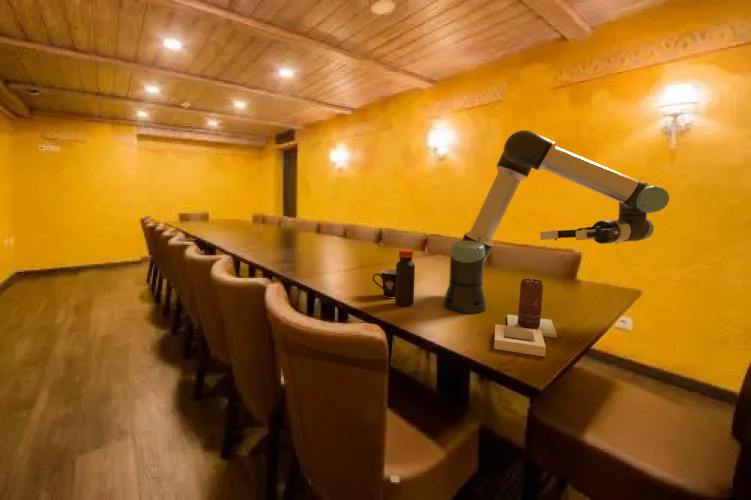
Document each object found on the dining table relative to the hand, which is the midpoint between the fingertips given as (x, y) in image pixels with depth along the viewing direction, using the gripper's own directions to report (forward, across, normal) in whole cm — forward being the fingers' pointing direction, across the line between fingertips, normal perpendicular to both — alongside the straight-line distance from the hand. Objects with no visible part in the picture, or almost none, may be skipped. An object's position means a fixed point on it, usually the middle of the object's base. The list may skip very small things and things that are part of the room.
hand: (557, 235), depth 106 cm
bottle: (+40, +32, -23) cm, 56 cm away
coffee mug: (+41, +45, -21) cm, 64 cm away
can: (+12, 0, -27) cm, 29 cm away
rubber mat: (+10, +1, -27) cm, 29 cm away
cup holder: (+23, -8, -28) cm, 37 cm away
